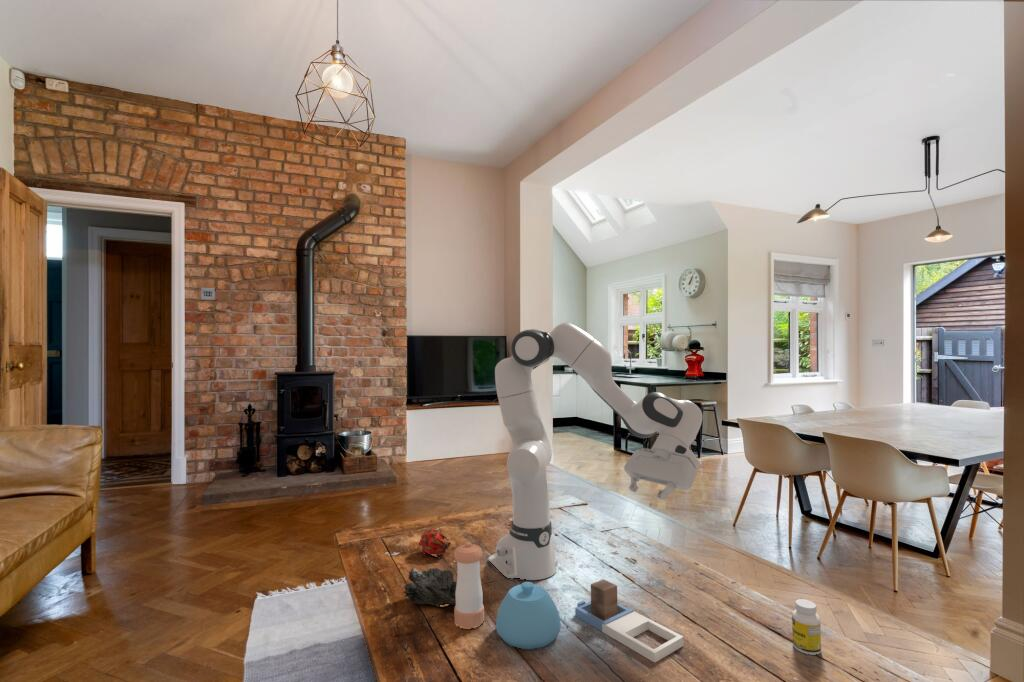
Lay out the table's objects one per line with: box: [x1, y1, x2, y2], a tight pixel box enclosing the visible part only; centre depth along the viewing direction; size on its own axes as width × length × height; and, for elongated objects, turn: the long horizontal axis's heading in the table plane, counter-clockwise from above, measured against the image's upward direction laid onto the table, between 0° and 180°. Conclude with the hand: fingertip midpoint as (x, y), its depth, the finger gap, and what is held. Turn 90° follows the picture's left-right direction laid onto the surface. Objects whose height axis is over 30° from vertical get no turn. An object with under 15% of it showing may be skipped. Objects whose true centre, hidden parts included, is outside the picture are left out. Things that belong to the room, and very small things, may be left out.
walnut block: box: [590, 579, 618, 621], centre depth 127 cm, size 4×4×8 cm
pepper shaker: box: [453, 541, 485, 627], centre depth 126 cm, size 7×7×19 cm
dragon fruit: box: [418, 528, 451, 555], centre depth 167 cm, size 8×8×12 cm
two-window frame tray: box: [574, 600, 685, 663], centre depth 121 cm, size 25×10×2 cm, turn 36°
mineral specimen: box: [403, 566, 457, 606], centre depth 137 cm, size 15×13×10 cm
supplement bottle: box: [791, 598, 822, 656], centre depth 113 cm, size 5×5×10 cm
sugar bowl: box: [495, 581, 562, 650], centre depth 120 cm, size 15×15×12 cm
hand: (645, 494), depth 137 cm, fingers open, 8 cm apart
